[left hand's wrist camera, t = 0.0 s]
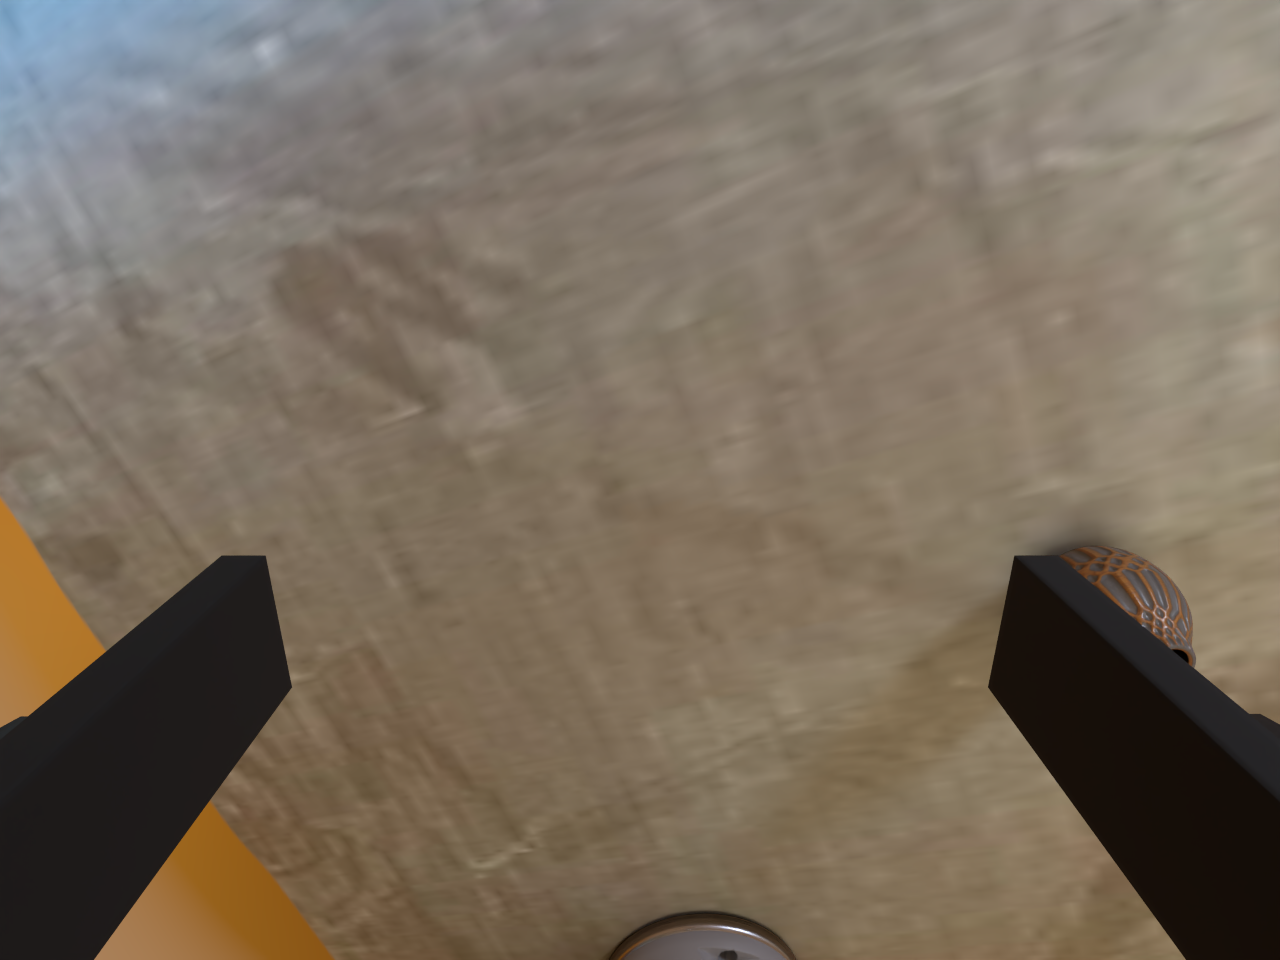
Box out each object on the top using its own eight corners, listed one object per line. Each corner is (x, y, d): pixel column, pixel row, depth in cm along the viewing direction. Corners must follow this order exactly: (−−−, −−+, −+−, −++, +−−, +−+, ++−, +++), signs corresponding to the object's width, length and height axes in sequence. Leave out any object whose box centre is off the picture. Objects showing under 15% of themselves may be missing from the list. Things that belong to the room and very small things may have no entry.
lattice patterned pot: (1027, 644, 46) (1112, 739, 38) (1005, 552, 44) (1090, 632, 35) (1139, 608, 45) (1251, 698, 37) (1122, 513, 43) (1237, 585, 34)
